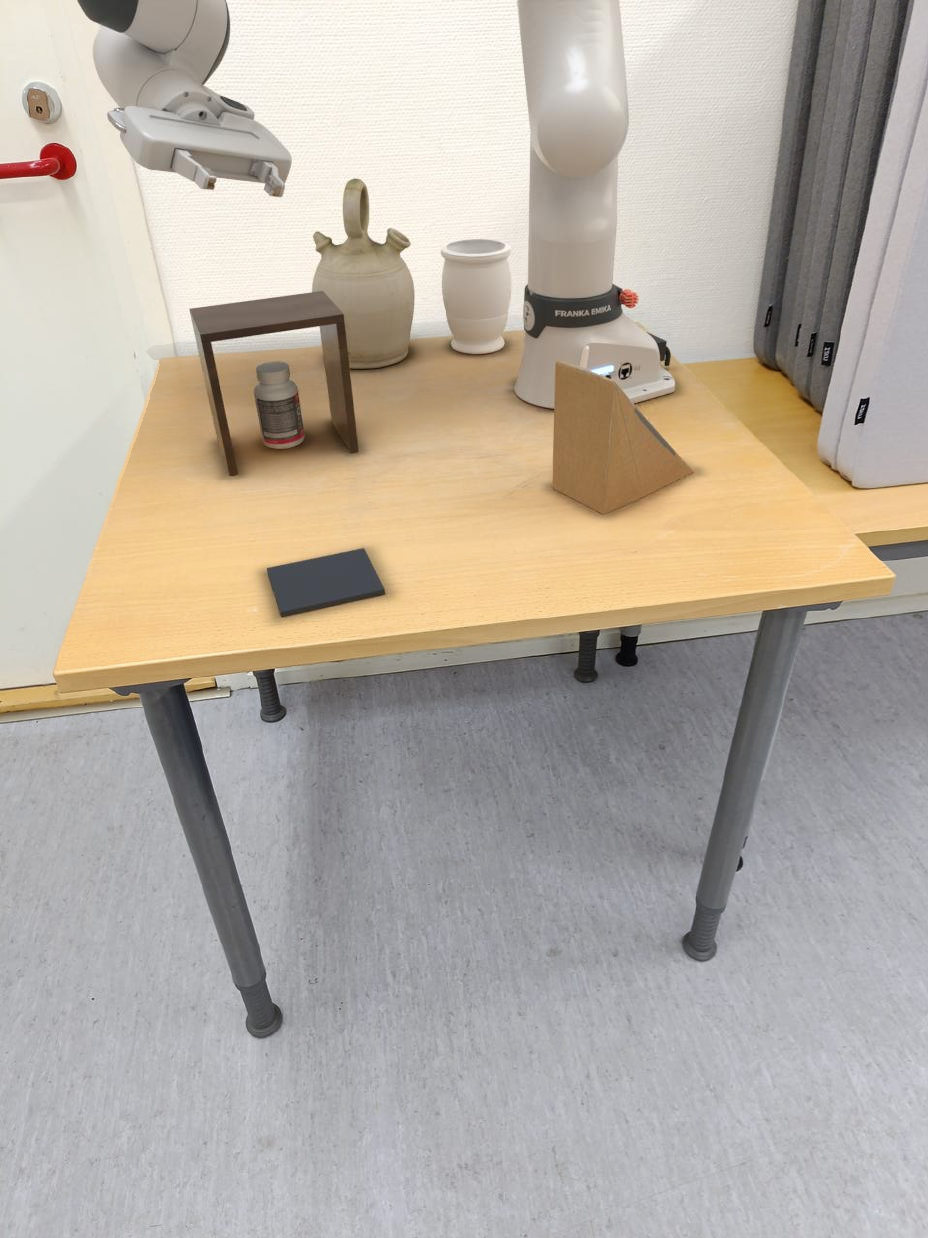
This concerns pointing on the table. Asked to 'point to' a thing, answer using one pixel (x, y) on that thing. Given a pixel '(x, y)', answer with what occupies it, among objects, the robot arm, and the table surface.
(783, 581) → the table surface
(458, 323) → the jar
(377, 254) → the jug
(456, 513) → the table surface
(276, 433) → the pill bottle
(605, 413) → the sandwich container
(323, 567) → the pad
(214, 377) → the arch
